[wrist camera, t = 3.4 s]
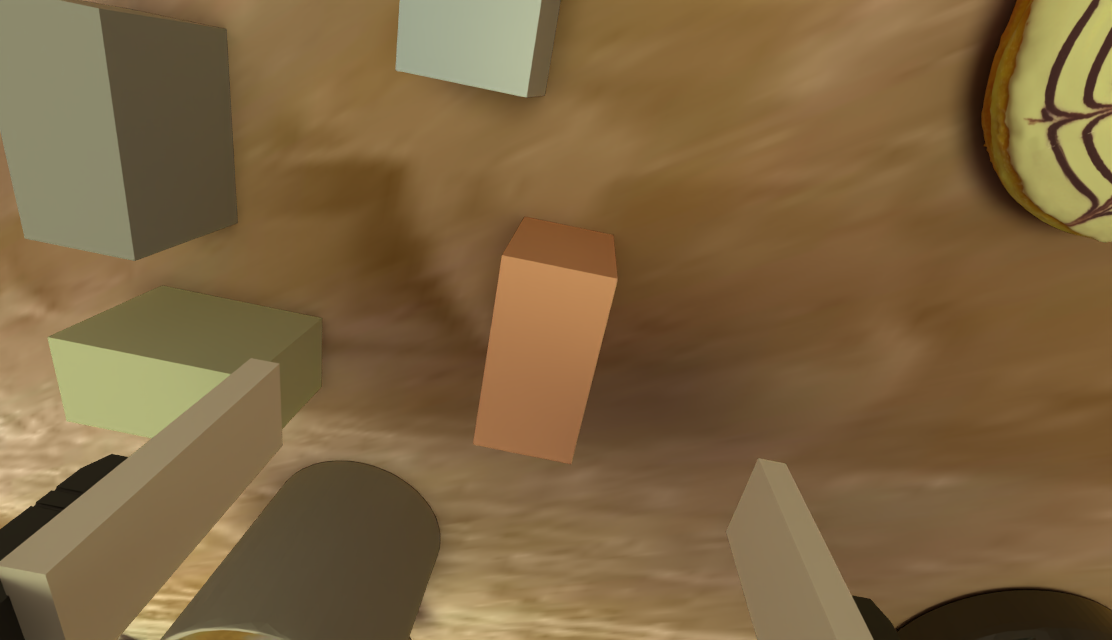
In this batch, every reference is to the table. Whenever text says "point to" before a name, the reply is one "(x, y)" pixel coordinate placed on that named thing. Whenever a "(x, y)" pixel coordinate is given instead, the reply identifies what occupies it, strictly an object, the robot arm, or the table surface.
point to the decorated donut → (1055, 113)
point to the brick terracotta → (545, 338)
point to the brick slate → (115, 126)
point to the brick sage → (178, 357)
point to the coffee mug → (322, 563)
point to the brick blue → (479, 42)
